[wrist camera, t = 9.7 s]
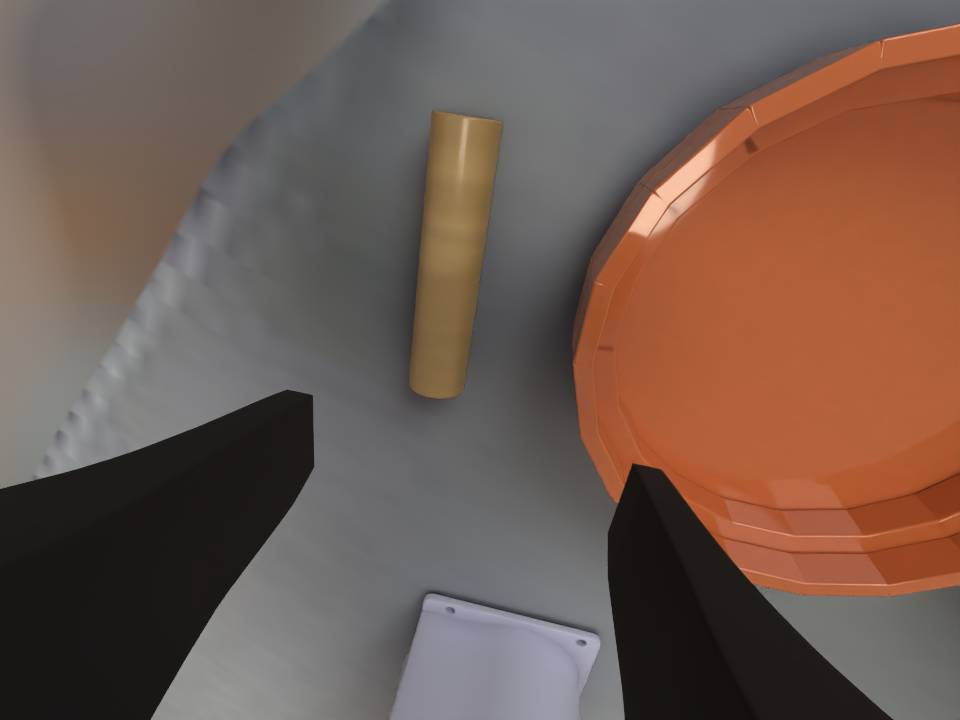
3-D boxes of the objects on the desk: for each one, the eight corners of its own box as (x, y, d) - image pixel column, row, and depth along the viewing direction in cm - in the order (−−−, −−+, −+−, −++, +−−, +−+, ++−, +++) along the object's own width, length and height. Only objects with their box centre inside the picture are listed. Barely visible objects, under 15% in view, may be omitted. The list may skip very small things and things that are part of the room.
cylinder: (468, 377, 20) (458, 404, 18) (417, 366, 20) (401, 392, 18) (507, 121, 16) (498, 121, 14) (441, 111, 16) (423, 109, 14)
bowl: (535, 465, 21) (529, 532, 18) (649, 4, 14) (677, -39, 10) (936, 553, 20) (1016, 645, 16) (1308, 94, 12) (1607, 81, 9)
